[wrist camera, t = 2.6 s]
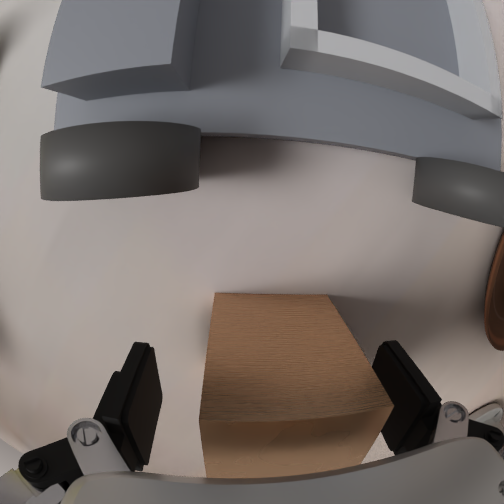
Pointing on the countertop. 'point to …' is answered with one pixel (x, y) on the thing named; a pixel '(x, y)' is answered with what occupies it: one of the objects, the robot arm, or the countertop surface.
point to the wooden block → (285, 389)
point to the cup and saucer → (495, 300)
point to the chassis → (273, 91)
